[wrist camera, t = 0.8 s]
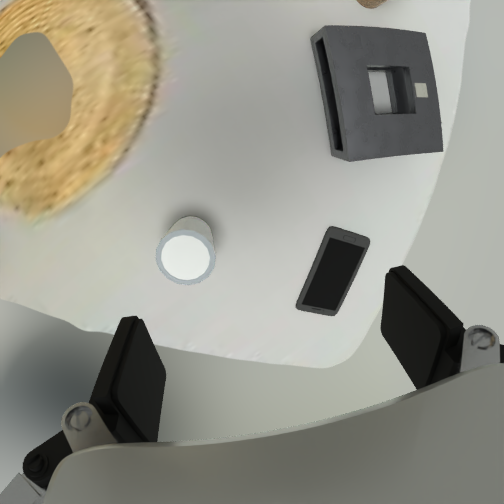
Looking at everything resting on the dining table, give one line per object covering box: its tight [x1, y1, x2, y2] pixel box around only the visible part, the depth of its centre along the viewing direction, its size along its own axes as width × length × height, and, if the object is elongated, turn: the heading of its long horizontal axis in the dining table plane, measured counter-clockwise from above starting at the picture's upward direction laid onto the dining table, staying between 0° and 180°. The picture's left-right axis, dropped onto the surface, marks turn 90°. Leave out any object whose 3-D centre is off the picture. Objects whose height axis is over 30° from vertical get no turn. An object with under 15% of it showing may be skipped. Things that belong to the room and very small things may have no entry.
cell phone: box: [296, 226, 370, 316], centre depth 44 cm, size 7×14×1 cm, turn 163°
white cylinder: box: [156, 216, 216, 285], centre depth 37 cm, size 7×7×7 cm
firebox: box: [310, 26, 443, 162], centre depth 31 cm, size 16×14×6 cm
